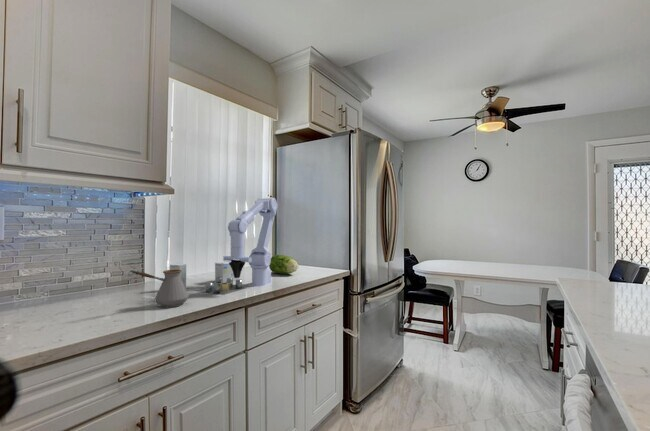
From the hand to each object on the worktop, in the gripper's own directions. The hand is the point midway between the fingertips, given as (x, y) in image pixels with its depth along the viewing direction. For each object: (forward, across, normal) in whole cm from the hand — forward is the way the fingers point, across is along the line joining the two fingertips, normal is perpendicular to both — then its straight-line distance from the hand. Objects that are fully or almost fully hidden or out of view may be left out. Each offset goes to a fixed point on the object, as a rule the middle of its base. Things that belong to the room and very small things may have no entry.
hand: (237, 277), depth 139 cm
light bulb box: (+7, -21, +16) cm, 27 cm away
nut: (+6, -7, 0) cm, 9 cm away
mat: (+7, -10, 0) cm, 12 cm away
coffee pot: (+7, -9, -31) cm, 33 cm away
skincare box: (+7, -28, -8) cm, 30 cm away
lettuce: (+7, -9, +51) cm, 52 cm away
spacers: (+6, -10, 0) cm, 12 cm away
